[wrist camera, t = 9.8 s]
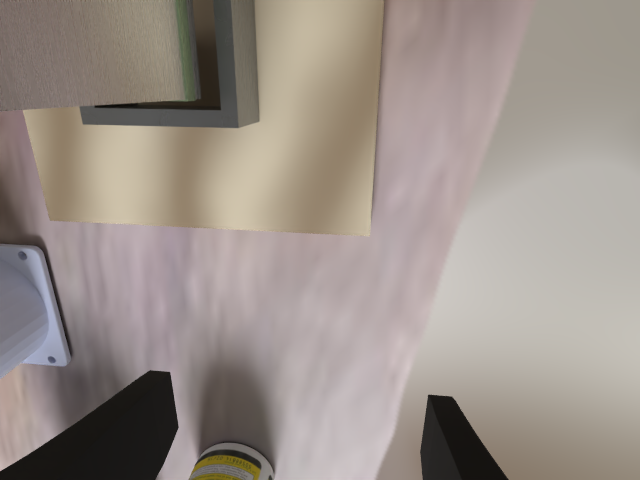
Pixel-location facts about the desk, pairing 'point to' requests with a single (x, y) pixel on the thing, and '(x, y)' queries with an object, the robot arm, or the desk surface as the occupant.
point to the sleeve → (234, 81)
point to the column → (96, 53)
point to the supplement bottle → (231, 464)
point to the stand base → (238, 136)
